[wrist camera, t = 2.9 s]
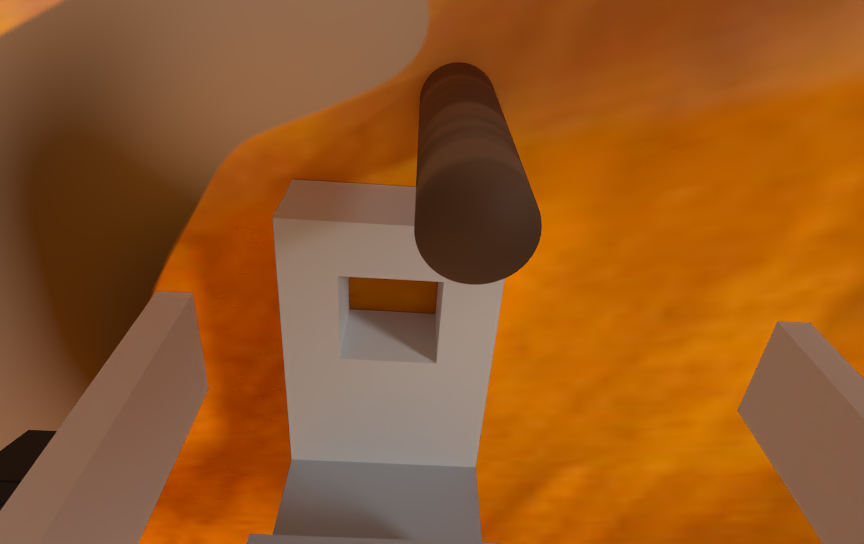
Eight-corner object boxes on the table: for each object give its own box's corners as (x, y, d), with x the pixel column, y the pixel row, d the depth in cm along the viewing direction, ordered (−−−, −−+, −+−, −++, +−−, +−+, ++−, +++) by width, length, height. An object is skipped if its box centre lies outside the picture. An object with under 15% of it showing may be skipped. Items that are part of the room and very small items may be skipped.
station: (292, 179, 34) (208, 342, 21) (501, 192, 34) (545, 359, 21) (306, 416, 43) (254, 628, 30) (469, 424, 44) (485, 636, 31)
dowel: (422, 59, 30) (417, 167, 17) (499, 65, 30) (551, 175, 18) (417, 135, 32) (411, 281, 20) (490, 140, 33) (530, 288, 20)
